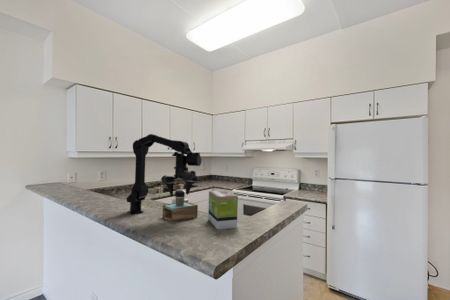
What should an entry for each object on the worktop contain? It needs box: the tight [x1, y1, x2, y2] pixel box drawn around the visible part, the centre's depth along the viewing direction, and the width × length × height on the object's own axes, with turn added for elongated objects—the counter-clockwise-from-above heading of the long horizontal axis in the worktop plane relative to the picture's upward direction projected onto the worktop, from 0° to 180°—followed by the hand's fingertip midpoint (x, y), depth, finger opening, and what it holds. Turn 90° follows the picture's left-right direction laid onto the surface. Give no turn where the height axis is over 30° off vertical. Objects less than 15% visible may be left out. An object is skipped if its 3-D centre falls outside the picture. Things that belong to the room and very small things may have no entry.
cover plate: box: [164, 197, 193, 211], centre depth 106 cm, size 9×12×5 cm
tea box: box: [207, 190, 239, 230], centre depth 98 cm, size 15×10×15 cm
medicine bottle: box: [171, 189, 189, 204], centre depth 117 cm, size 7×7×12 cm
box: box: [162, 201, 199, 223], centre depth 106 cm, size 11×14×6 cm
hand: (179, 195), depth 106 cm, fingers open, 9 cm apart
